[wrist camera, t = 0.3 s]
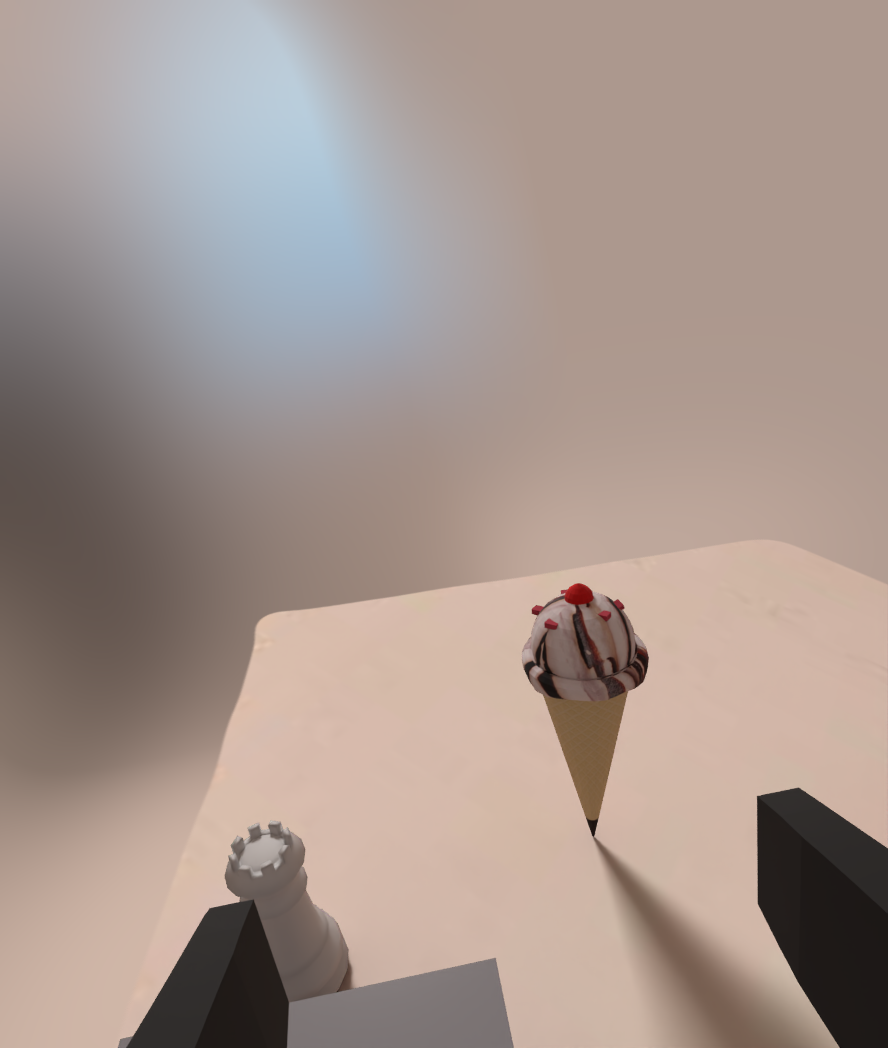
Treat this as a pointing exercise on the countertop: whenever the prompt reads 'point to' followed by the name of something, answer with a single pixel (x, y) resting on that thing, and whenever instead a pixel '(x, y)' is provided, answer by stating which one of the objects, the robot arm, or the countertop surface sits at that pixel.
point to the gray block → (406, 1013)
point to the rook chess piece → (288, 911)
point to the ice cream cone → (585, 681)
